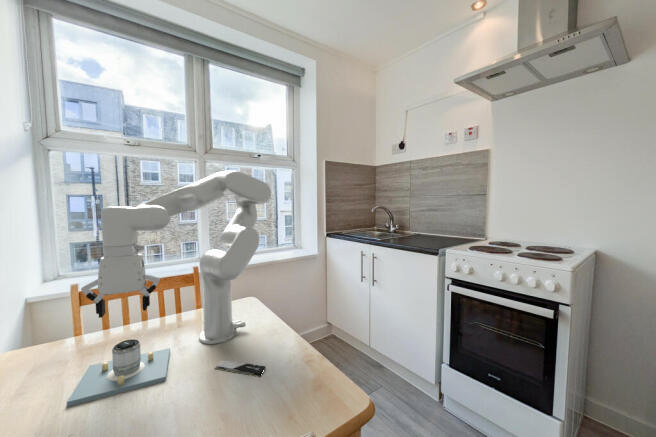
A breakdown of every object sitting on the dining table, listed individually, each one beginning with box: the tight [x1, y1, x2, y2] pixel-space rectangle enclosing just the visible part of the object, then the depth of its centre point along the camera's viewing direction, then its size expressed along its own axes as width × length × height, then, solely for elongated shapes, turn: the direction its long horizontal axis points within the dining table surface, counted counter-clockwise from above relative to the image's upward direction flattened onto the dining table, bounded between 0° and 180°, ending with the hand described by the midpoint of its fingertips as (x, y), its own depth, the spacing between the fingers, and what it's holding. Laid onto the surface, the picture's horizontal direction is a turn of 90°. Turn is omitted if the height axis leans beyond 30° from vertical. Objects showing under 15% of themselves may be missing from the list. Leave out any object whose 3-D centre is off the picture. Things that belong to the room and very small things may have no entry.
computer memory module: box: [214, 360, 267, 378], centre depth 77 cm, size 15×1×4 cm
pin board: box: [66, 347, 171, 408], centre depth 74 cm, size 20×16×3 cm
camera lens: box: [111, 339, 142, 377], centre depth 74 cm, size 6×6×8 cm
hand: (124, 312), depth 73 cm, fingers open, 9 cm apart
